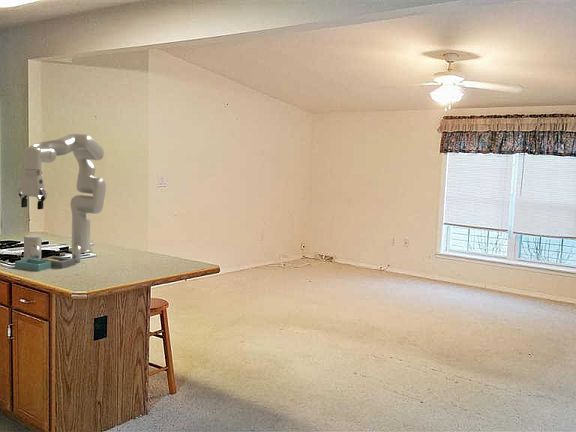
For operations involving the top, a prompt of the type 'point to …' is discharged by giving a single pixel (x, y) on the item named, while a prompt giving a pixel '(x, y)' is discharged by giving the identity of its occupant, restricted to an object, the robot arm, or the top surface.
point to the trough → (33, 264)
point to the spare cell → (35, 252)
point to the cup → (31, 244)
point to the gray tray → (60, 261)
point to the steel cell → (76, 253)
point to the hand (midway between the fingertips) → (32, 208)
